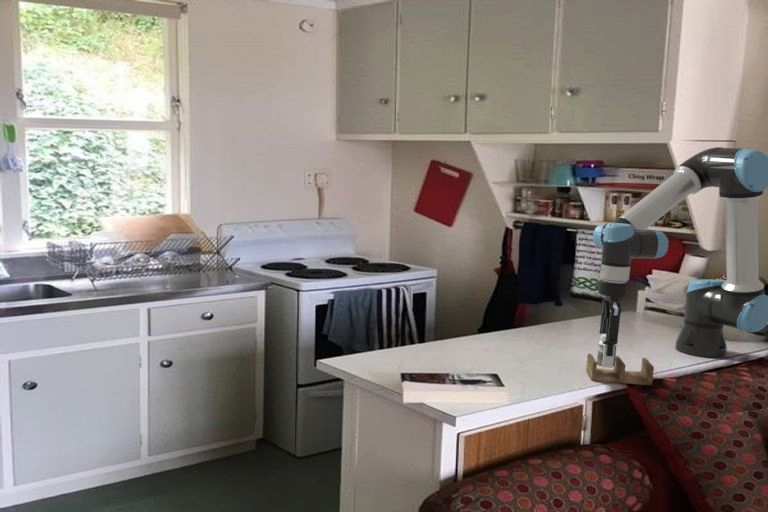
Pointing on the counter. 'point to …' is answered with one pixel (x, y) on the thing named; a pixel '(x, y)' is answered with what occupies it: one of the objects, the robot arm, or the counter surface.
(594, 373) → the rack
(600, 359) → the pill bottle
